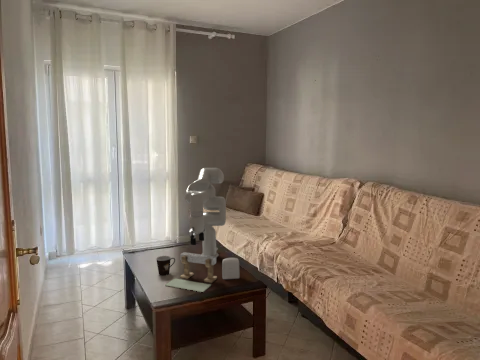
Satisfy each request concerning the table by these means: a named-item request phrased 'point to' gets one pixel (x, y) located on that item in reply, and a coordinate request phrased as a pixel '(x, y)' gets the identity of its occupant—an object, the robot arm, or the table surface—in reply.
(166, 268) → the coffee mug
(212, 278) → the forked stand
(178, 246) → the table surface
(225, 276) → the photo printer
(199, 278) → the table surface
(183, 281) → the sage mat
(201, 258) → the steel bar
